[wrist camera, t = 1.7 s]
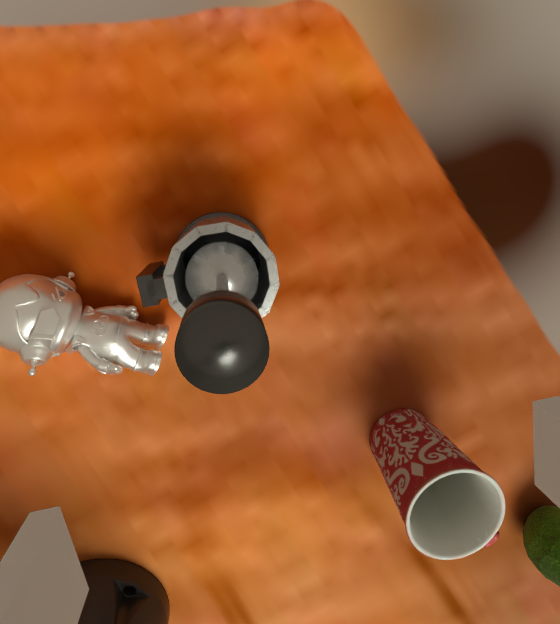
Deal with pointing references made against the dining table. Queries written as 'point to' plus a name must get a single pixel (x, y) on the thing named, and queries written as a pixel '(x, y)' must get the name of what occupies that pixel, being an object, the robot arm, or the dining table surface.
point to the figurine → (74, 327)
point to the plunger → (221, 321)
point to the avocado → (544, 541)
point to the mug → (436, 487)
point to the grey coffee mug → (202, 231)
